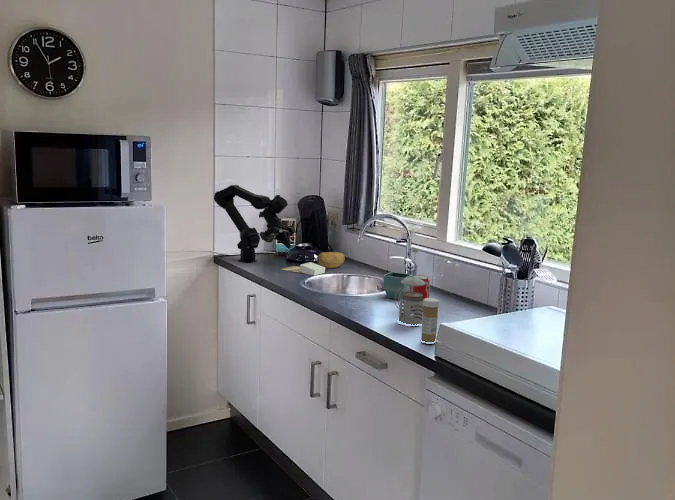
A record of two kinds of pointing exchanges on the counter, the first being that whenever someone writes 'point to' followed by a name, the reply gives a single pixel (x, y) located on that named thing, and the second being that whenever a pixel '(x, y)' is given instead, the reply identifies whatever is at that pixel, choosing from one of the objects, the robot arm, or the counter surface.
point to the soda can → (422, 287)
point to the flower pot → (395, 284)
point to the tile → (311, 269)
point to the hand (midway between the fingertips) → (289, 248)
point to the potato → (330, 259)
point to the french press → (411, 301)
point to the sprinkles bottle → (429, 319)
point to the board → (292, 269)
